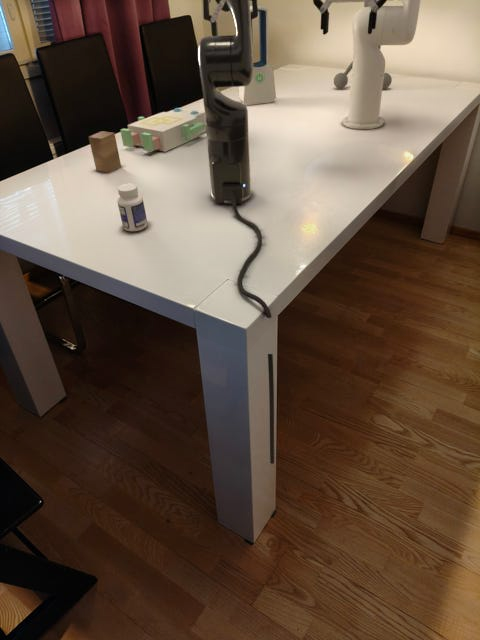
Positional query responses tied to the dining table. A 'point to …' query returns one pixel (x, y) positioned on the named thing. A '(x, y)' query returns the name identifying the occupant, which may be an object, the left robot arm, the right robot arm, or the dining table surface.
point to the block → (105, 151)
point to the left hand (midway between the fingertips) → (232, 37)
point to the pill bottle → (131, 208)
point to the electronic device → (260, 69)
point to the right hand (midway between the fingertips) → (347, 33)
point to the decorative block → (165, 129)
